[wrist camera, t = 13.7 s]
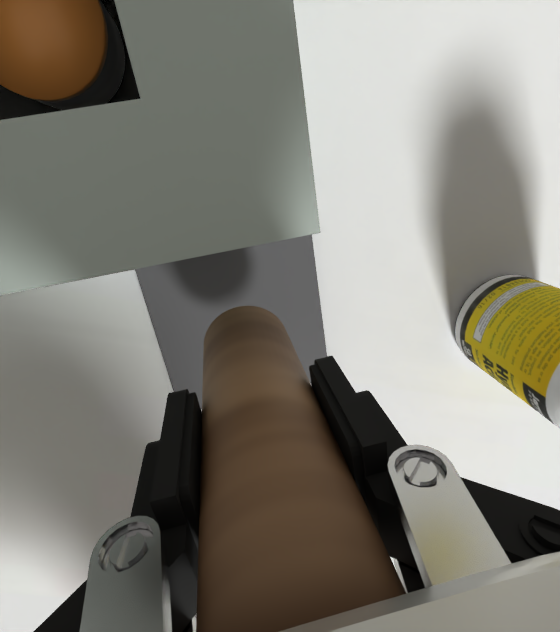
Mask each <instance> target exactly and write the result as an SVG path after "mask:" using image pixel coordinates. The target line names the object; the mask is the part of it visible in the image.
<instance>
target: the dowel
mask: <svg viewBox="0 0 560 632" xmlns="http://www.w3.org/2000/svg"><path fill="white" fill-rule="evenodd" d="M403 594H407V593H406V591H405V589H404V587H403V585H402V583H401V580H400V578H399V576H398V574H397V572H396V569H395V567H394V565H393V563H392V561H391V559H390V556H389V554H388V552H387V550H386V548H385V545H384V543H383V541H382V539H381V537H380V535H379V532H378V530H377V528H376V526H375V524H374V521H373V519H372V517H371V515H370V513H369V510H368V508H367V506H366V504H365V502H364V500H363V497H362V495H361V493H360V491H359V489H358V486H357V484H356V482H355V480H354V478H353V476H352V474H351V472H350V469H349V467H348V465H347V463H346V461H345V458H344V456H343V454H342V452H341V450H340V447H339V445H338V443H337V441H336V439H335V437H334V434H333V432H332V430H331V428H330V426H329V423H328V421H327V419H326V417H325V415H324V413H323V410H322V408H321V406H320V404H319V402H318V399H317V397H316V395H315V393H314V391H313V388H312V386H311V384H310V382H309V379H308V377H307V375H306V373H305V371H304V369H303V366H302V364H301V362H300V360H299V358H298V355H297V353H296V351H295V349H294V347H293V345H292V342H291V340H290V338H289V336H288V334H287V331H286V329H285V327H284V325H283V324H282V322H281V321H280V320H279V318H278V317H277V316H276V315H274V314H273V313H271V312H270V311H268V310H266V309H263V308H261V307H256V306H239V307H235V308H232V309H229V310H227V311H225V312H224V313H222V314H221V315H219V316H218V317H217V318H216V319H215V320H214V321H213V322H212V323H211V324H210V326H209V328H208V329H207V332H206V334H205V338H204V349H203V387H202V428H201V467H200V506H199V542H198V581H197V619H196V632H279V631H282V630H286V629H289V628H292V627H296V626H299V625H302V624H306V623H309V622H312V621H316V620H319V619H322V618H326V617H329V616H332V615H336V614H339V613H342V612H346V611H349V610H353V609H356V608H359V607H363V606H366V605H369V604H373V603H376V602H380V601H383V600H386V599H390V598H393V597H397V596H400V595H403Z"/></svg>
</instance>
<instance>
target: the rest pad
mask: <svg viewBox="0 0 560 632" xmlns="http://www.w3.org/2000/svg"><path fill="white" fill-rule="evenodd" d="M135 270H136V273H137V276H138V279H139V282H140V285H141V289H142V292H143V295H144V298H145V301H146V304H147V307H148V311H149V314H150V317H151V320H152V323H153V326H154V329H155V332H156V336H157V339H158V342H159V345H160V348H161V351H162V354H163V358H164V361H165V364H166V367H167V370H168V373H169V376H170V380H171V383H172V386H173V389H174V392H176V391H181V390H185V389H188V391H189V393H193V392H195V393H196V395H197V398H198V402H199V405H200V408H201V409H202V387H203V349H204V338H205V334H206V332H207V329H208V328H209V326H210V324H211V323H212V322H213V321H214V320H215V319H216V318H217V317H218V316H219V315H221V314H222V313H224V312H225V311H227V310H229V309H232V308H235V307H239V306H256V307H261V308H263V309H266V310H268V311H270V312H271V313H273V314H274V315H276V316H277V317H278V318H279V320H280V321H281V322H282V324H283V325H284V327H285V329H286V331H287V334H288V336H289V338H290V340H291V342H292V345H293V347H294V349H295V351H296V353H297V355H298V358H299V360H300V362H301V364H302V366H303V369H304V371H305V373H306V375H307V377H308V379H309V382H310V383H311V378H310V371H309V366H310V365H314V361H315V359H320V358H324V357H327V353H326V345H325V337H324V329H323V321H322V313H321V305H320V297H319V290H318V282H317V274H316V266H315V258H314V250H313V242H312V234H311V235H306V236H301V237H296V238H291V239H286V240H281V241H276V242H271V243H265V244H260V245H255V246H250V247H245V248H240V249H235V250H230V251H225V252H220V253H215V254H210V255H204V256H199V257H194V258H189V259H184V260H179V261H174V262H169V263H164V264H159V265H154V266H149V267H143V268H138V269H135Z"/></svg>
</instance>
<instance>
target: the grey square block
mask: <svg viewBox="0 0 560 632" xmlns="http://www.w3.org/2000/svg"><path fill="white" fill-rule="evenodd" d="M114 1H115V5H116V9H117V12H118V16H119V20H120V24H121V27H122V31H123V35H124V39H125V42H126V46H127V50H128V54H129V58H130V61H131V65H132V69H133V73H134V76H135V80H136V84H137V88H138V91H139V95H140V99H135V100H128V101H121V102H115V103H108V104H102V105H95V106H89V107H82V108H76V109H69V110H63V111H56V112H50V113H43V114H37V115H30V116H24V117H17V118H10V119H4V120H0V296H1V295H6V294H11V293H16V292H22V291H27V290H32V289H37V288H42V287H47V286H52V285H57V284H62V283H67V282H72V281H77V280H82V279H88V278H93V277H98V276H103V275H108V274H113V273H118V272H123V271H128V270H133V269H138V268H143V267H149V266H154V265H159V264H164V263H169V262H174V261H179V260H184V259H189V258H194V257H199V256H204V255H210V254H215V253H220V252H225V251H230V250H235V249H240V248H245V247H250V246H255V245H260V244H265V243H271V242H276V241H281V240H286V239H291V238H296V237H301V236H306V235H311V234H316V233H320V226H319V217H318V209H317V200H316V192H315V183H314V175H313V166H312V158H311V149H310V141H309V132H308V124H307V115H306V107H305V98H304V90H303V81H302V73H301V64H300V55H299V47H298V38H297V30H296V21H295V13H294V4H293V0H114Z"/></svg>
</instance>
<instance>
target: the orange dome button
mask: <svg viewBox="0 0 560 632" xmlns="http://www.w3.org/2000/svg"><path fill="white" fill-rule="evenodd" d="M124 70H125V52H124V46H123V41H122V38H121V35H120V32H119V30H118V28H117V26H116V24H115V22H114V20H113V18H112V17H111V15H110V14H109V12H108V11H107V9H106V7H105V6H104V4H103V3H102V1H101V0H0V85H2V86H3V87H5V88H7V89H8V90H11V91H13V92H15V93H17V94H19V95H22V96H25V97H27V98H30V99H33V100H35V101H38V102H41V103H43V104H46V105H48V106H51V107H54V108H57V109H60V110H69V109H76V108H82V107H89V106H95V105H102V104H106V103H107V102H108V101H109V100H111V98H112V97H113V96H114V95H115V94H116V92H117V90H118V89H119V87H120V84H121V82H122V79H123V75H124Z"/></svg>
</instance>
